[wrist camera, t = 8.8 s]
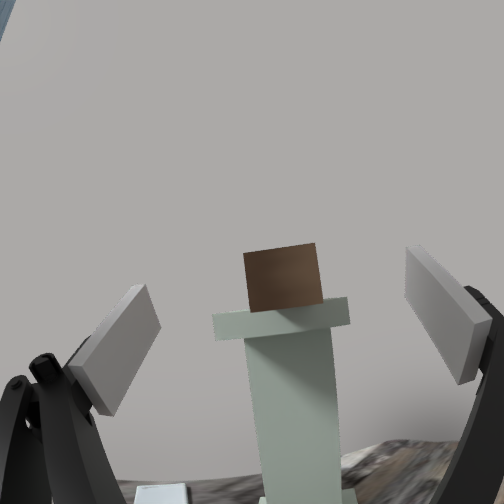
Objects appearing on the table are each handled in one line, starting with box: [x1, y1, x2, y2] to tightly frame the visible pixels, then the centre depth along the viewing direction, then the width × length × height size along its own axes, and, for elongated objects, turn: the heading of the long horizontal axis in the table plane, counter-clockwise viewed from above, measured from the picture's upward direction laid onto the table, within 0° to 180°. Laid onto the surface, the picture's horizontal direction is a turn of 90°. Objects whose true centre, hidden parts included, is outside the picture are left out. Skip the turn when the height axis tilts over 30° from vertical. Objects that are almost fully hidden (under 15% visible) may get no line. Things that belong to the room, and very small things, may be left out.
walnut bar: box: [243, 243, 323, 313], centre depth 24 cm, size 3×24×2 cm, turn 171°
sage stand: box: [212, 297, 358, 504], centre depth 28 cm, size 13×16×29 cm
